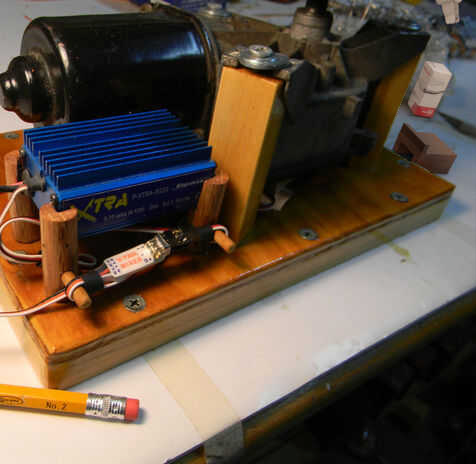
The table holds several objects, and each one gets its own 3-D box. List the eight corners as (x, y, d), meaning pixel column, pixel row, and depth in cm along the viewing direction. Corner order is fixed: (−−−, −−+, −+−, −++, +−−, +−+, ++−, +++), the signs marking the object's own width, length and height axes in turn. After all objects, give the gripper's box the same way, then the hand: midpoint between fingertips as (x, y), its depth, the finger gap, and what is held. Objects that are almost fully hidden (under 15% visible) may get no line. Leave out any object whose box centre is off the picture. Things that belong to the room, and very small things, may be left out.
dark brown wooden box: (424, 150, 108) (437, 124, 104) (447, 173, 101) (462, 146, 97) (392, 148, 108) (403, 122, 103) (412, 172, 100) (425, 144, 96)
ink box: (432, 118, 123) (453, 74, 116) (413, 115, 124) (433, 71, 116) (425, 105, 130) (444, 63, 122) (406, 102, 130) (425, 60, 123)
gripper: (454, -49, 101) (464, 17, 104) (462, -40, 116) (471, 18, 119) (421, -36, 105) (432, 28, 108) (433, -28, 120) (443, 27, 123)
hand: (453, 23), depth 113 cm, fingers open, 8 cm apart
